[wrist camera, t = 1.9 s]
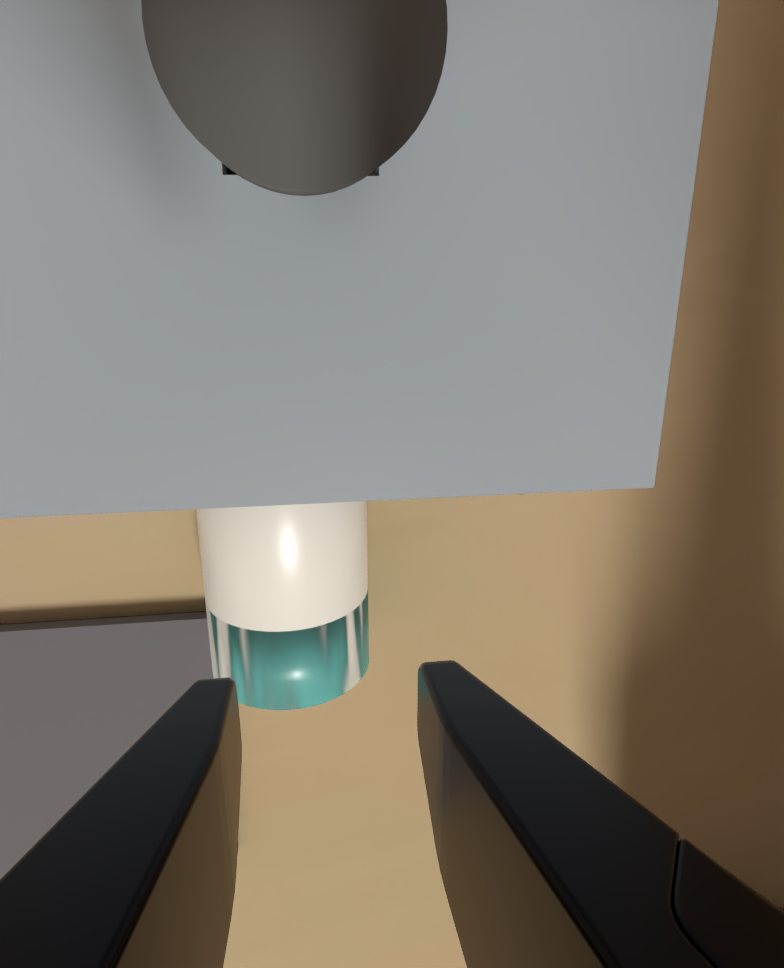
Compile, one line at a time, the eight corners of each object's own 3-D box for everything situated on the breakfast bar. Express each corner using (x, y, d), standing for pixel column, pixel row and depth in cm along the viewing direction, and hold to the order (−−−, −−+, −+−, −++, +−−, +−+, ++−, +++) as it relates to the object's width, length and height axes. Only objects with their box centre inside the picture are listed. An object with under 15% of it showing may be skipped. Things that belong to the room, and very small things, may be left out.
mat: (215, 611, 21) (213, 617, 20) (238, 845, 24) (237, 855, 23) (-233, 639, 19) (-243, 647, 19) (-147, 884, 22) (-155, 896, 22)
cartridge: (383, 231, 17) (326, 232, 13) (385, 630, 21) (341, 722, 17) (223, 231, 18) (126, 232, 14) (252, 613, 22) (182, 695, 18)
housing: (590, 7, 17) (732, -102, 11) (557, 418, 20) (653, 487, 15) (-40, -17, 15) (-230, -158, 10) (40, 435, 18) (-67, 521, 13)
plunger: (388, 3, 13) (451, -156, 8) (388, 205, 14) (443, 189, 9) (195, -4, 12) (122, -176, 7) (212, 204, 13) (159, 188, 8)
